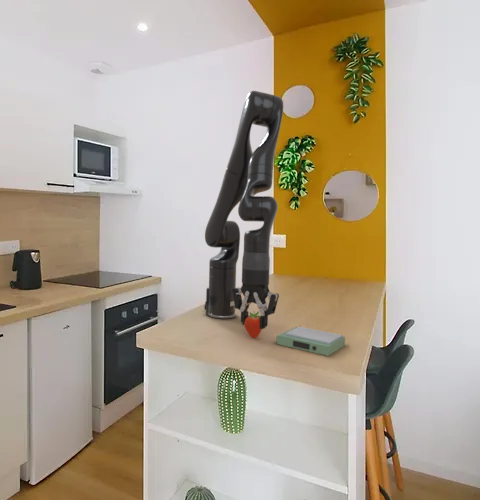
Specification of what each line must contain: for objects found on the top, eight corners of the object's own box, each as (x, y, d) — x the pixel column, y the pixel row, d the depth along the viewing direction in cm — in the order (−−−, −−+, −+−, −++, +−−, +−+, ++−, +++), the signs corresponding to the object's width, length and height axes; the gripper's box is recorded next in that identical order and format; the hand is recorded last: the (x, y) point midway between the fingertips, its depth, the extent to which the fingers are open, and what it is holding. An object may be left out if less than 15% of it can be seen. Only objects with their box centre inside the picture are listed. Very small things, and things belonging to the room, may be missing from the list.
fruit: (262, 341, 116) (263, 313, 116) (243, 339, 118) (244, 311, 117) (262, 336, 122) (263, 309, 121) (244, 334, 123) (245, 307, 122)
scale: (276, 344, 115) (276, 333, 114) (295, 335, 124) (296, 324, 123) (327, 356, 105) (328, 344, 105) (344, 345, 114) (345, 334, 114)
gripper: (285, 268, 116) (283, 328, 117) (240, 264, 126) (239, 319, 127) (272, 271, 110) (270, 334, 112) (226, 266, 120) (225, 324, 122)
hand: (253, 326), depth 119 cm, fingers closed on fruit, 5 cm apart
